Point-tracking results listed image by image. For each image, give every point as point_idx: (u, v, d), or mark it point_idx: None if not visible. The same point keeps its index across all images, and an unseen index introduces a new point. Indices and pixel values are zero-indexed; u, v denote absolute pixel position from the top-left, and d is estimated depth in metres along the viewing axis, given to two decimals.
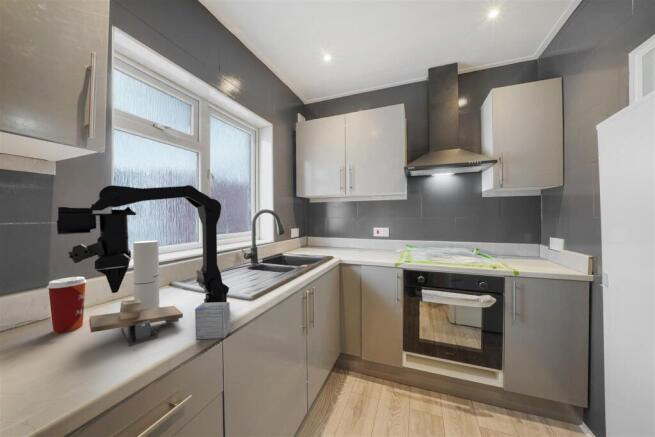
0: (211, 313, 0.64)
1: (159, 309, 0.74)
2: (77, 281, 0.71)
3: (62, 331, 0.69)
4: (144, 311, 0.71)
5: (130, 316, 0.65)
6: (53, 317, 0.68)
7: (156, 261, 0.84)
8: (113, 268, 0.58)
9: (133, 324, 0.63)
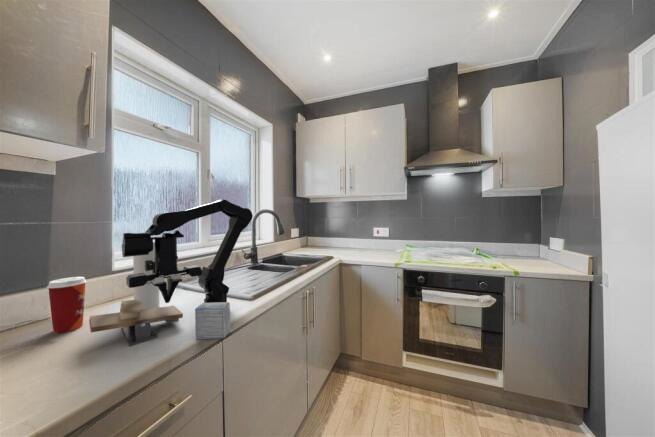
0: (211, 313, 0.64)
1: (159, 309, 0.74)
2: (77, 281, 0.71)
3: (62, 331, 0.69)
4: (144, 311, 0.71)
5: (130, 316, 0.65)
6: (53, 317, 0.68)
7: None
8: (152, 283, 0.70)
9: (133, 324, 0.63)
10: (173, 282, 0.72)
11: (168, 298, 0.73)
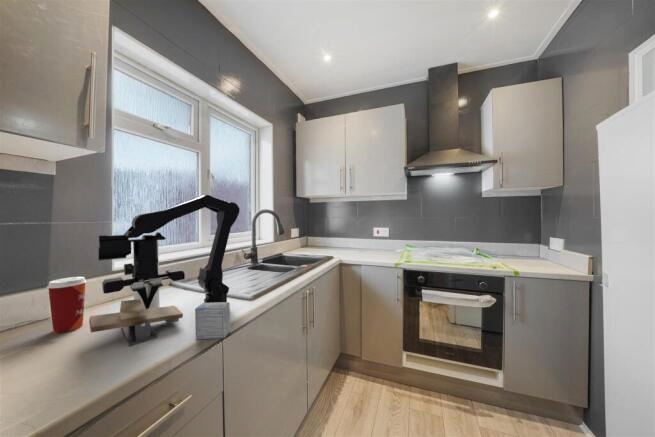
0: (211, 313, 0.64)
1: (159, 309, 0.74)
2: (77, 281, 0.71)
3: (62, 331, 0.69)
4: (144, 311, 0.71)
5: (130, 316, 0.65)
6: (53, 317, 0.68)
7: None
8: (131, 288, 0.67)
9: (133, 324, 0.63)
10: (153, 287, 0.68)
11: (147, 304, 0.69)
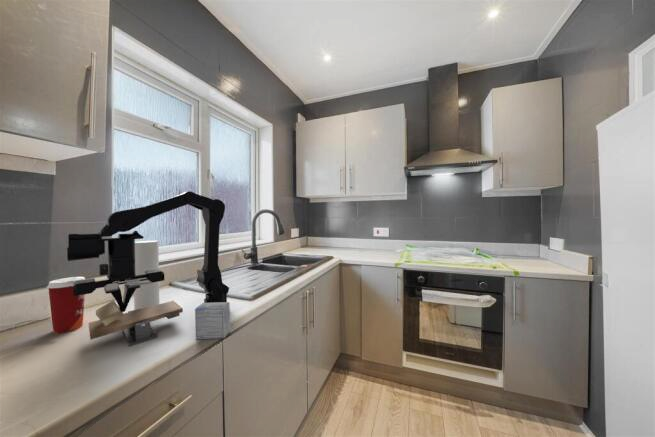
0: (211, 313, 0.64)
1: (158, 306, 0.74)
2: None
3: (62, 331, 0.69)
4: (143, 310, 0.71)
5: (113, 319, 0.63)
6: (53, 317, 0.68)
7: (156, 261, 0.84)
8: (105, 290, 0.63)
9: (133, 325, 0.63)
10: (129, 289, 0.64)
11: (123, 307, 0.65)
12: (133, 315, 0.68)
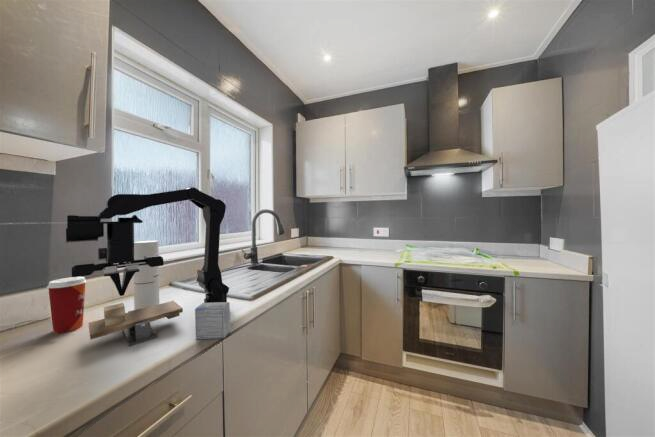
0: (211, 313, 0.64)
1: (158, 306, 0.74)
2: (77, 281, 0.71)
3: (62, 331, 0.69)
4: (143, 310, 0.71)
5: (115, 321, 0.63)
6: (53, 317, 0.68)
7: None
8: (103, 273, 0.63)
9: (133, 325, 0.63)
10: (128, 272, 0.64)
11: (122, 290, 0.65)
12: (133, 315, 0.68)
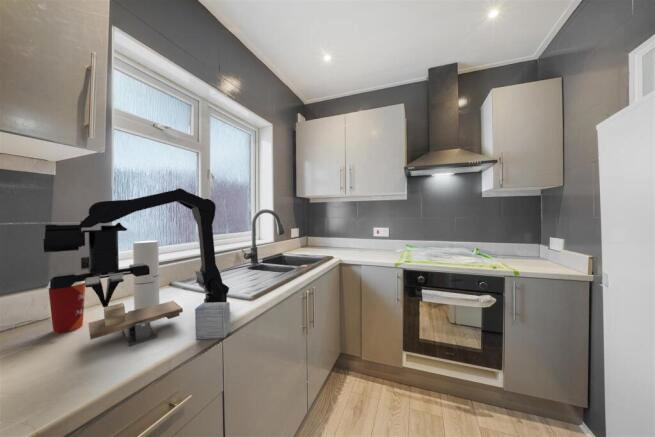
0: (211, 313, 0.64)
1: (158, 306, 0.74)
2: None
3: (62, 331, 0.69)
4: (143, 310, 0.71)
5: (115, 321, 0.63)
6: (53, 317, 0.68)
7: (156, 261, 0.84)
8: (85, 284, 0.60)
9: (133, 325, 0.63)
10: (111, 283, 0.62)
11: (106, 301, 0.62)
12: (133, 315, 0.68)
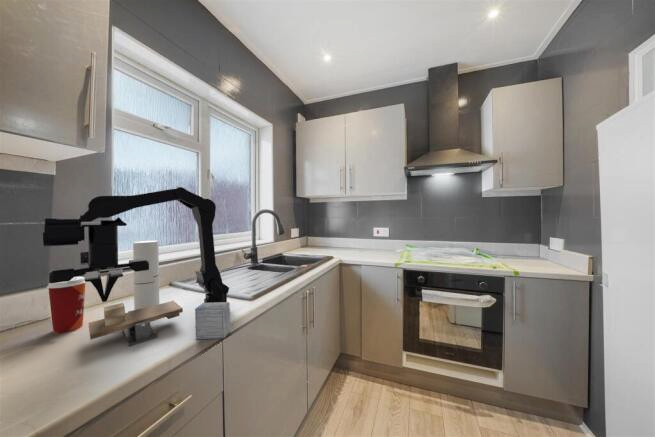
0: (211, 313, 0.64)
1: (158, 306, 0.74)
2: (77, 281, 0.71)
3: (62, 331, 0.69)
4: (143, 310, 0.71)
5: (115, 321, 0.63)
6: (53, 317, 0.68)
7: (156, 261, 0.84)
8: (84, 278, 0.60)
9: (133, 325, 0.63)
10: (110, 277, 0.62)
11: (105, 296, 0.62)
12: (133, 315, 0.68)
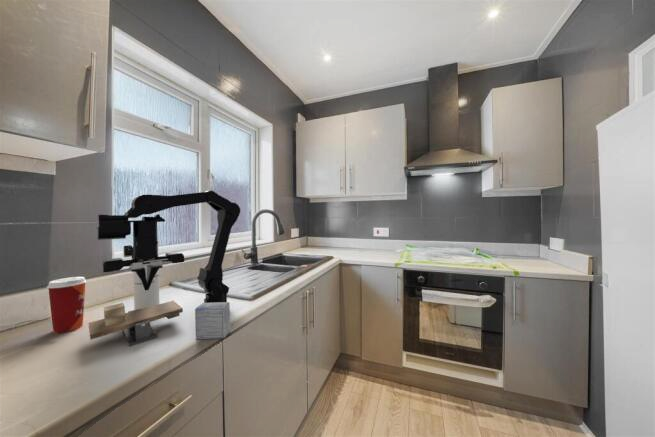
0: (211, 313, 0.64)
1: (158, 306, 0.74)
2: (77, 281, 0.71)
3: (62, 331, 0.69)
4: (143, 310, 0.71)
5: (115, 321, 0.63)
6: (53, 317, 0.68)
7: None
8: (130, 269, 0.67)
9: (133, 325, 0.63)
10: (152, 268, 0.68)
11: (147, 285, 0.69)
12: (133, 315, 0.68)
